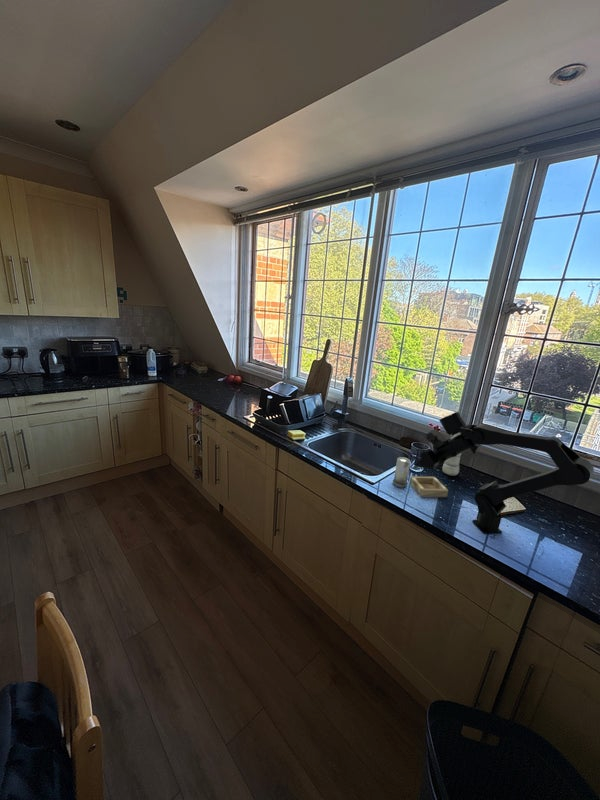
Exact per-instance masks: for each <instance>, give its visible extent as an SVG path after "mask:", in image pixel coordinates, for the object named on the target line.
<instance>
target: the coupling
mask: <svg viewBox="0 0 600 800" xmlns="http://www.w3.org/2000/svg"><path fill="white" fill-rule="evenodd" d="M395 464H396V465H395V471H394V476H393V480H392V485H393V486H394V487H396V488H399V489H405V488H407V487H408V477H409V471H410V466H411V460H410V459H409V458H407V457H403V456H399V457H397V459H396V463H395Z"/></svg>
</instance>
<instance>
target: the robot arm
mask: <svg viewBox="0 0 600 800" xmlns="http://www.w3.org/2000/svg"><path fill="white" fill-rule="evenodd" d="M438 421H439V423H440V424H441V426H442V427H443V429H444V430H445V432H446V434H447V435H449V436H450V435H451V437H453V435H455V434H457V433H459V432H460V433H461V434H460V435H458V436H456V437H454V438H452V439H451V437H450V438H447V437H446V436H445V435H444V434H443V433H442V432H441V431H439V430H438V429H436V428H434V429H431V430H429V432H427V433H426V434H425V439H426V440H427V441H428V442H429V443H430V444H432V445H434V446H433V449H434V450H435V451H433V450H432V449H430V448H427V449H426V450H423V451H422V452H420V453H419V455H420V458H419V459H418V460H417V461H416V462H415V463H414V464H413V465H414V467H415V468H424V469H425V468H426V469H428V470H432V469H434V468H435V467H438V466H439V464H440V461H442V463H444V462H445V461H446V460H447V459H450V458H452V457H455V456H457V455H458V454H461V455H462V454H463V453H465V452H467V451H471V453H472V454H473V455H475V454H478V452H480V447H481V445H482V446H483V445H484V446H485V445H486V446H488V445H489V446H491V445H492V446H493V445H505V446H509V447H516V448H522V449H527V450H534V451H540V452H545V453H546V454H547V455H548V456H549V457H550V459H551V460H552V461H553V463H554V464H555V465H556V467H554V468H552V469H551V470H548V471H545V472H542V473H538V474H535V475H532V476H529V477H525V478H522V479H521V478H520V479H518V480H516V481H513V482H508V483H505V484H499V483H498V480H494V481H493V482H491V483H485V484H484V485H482V486H481V487H479V489H478V491H477V492H476V493H475V494H474V501H475V503H476V505H477V511H478V512H477V515H476V519H472V521H471V522H472V523H473V524H474V525H475V526H476V527H477V528H478V529H479V530H480V531H481V532H482V533H483V534H485V535H486V534H487V535H488V534H489V535H491V534H494V535H495V534H496V535H497V534H502V533H503V531H502V530H501V529H500V525H501V521H502V519H503V517H502V514H501V513H502V512H503V511H504V510H505V509H506V507H507V504H506V503H505V502H504V501H506V500H508V499H511V498H515V497H519V496H522V495H526V494H529V493H532V492H537V491H539V490H544V489H548V488H551V487H552V488H553V487H556V486H561V487H564V486H565V487H571V486H579V485H581V486H582V485H584V484H586V483H588V482H589V480H590V479H591V478H592V476H593V474H594V471H595V469H594V465H593V463H591V461H590V460H588V459H586V458H582V457H581V456H580V455H579V454H578V452H576V450H575V451H574V450H573V449H572V448H570V447H569V446H568V445H566V443H564V442H563V440H561V439H560V438H558V437H555V436H544V435H537V434H529V433H522V432H515V431H509V430H505V429H502V428H499V427H497V426H495V425H490V424H486V423H480V424H472V423H468V424H466V423H465V422H464V420H463V418H462V417H461V414H460V413H459V411H455V412H453V413H451V414H449V415H446V416H444V417H441V419H439V420H438Z"/></svg>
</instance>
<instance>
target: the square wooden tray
mask: <svg viewBox="0 0 600 800" xmlns="http://www.w3.org/2000/svg"><path fill="white" fill-rule="evenodd" d="M409 479H410V480H409V484H410V486H412V488H413V489H414V490H415V491H416V492H417V494H418V495H419V496H420V497H421V498H448V494H449V489H448V488H447V487H446V486H445V485H444V484H443V483H442V482H440V480H439V479H438V478H437V477H436V476H410V477H409Z"/></svg>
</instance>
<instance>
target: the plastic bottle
mask: <svg viewBox="0 0 600 800" xmlns="http://www.w3.org/2000/svg"><path fill="white" fill-rule="evenodd" d="M460 434H461V433H460V432H459V433H457V434H455V435H453V436H451V437H450V438H451V439H452V438H454V437H456V436H458V435H460ZM461 455H462V453H461V454H458V455H457V456H455V457H452V458H450V459H447V460H446V461H444V462H443V466H442V473H444V474H446V475H448V476H453V477H455V476H457V475H458V474H459V472H460V459H461Z"/></svg>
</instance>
